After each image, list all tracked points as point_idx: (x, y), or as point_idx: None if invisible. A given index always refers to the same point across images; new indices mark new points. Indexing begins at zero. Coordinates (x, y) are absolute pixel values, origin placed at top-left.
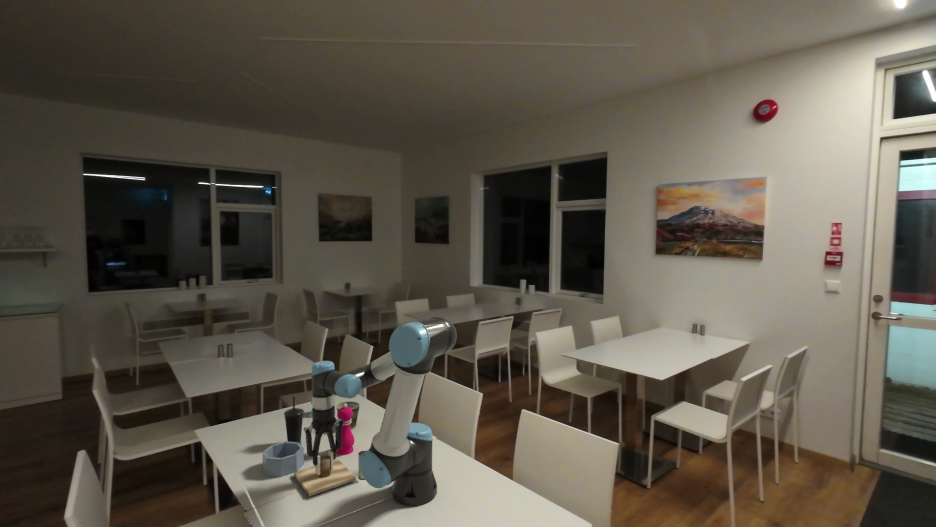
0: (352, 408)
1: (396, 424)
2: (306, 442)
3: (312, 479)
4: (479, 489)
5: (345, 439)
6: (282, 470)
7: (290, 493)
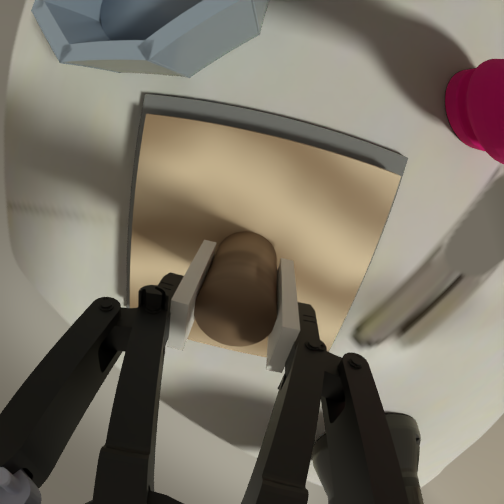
0: None
1: None
2: (40, 369)
3: (179, 251)
4: (418, 467)
5: None
6: (106, 68)
7: (102, 216)
